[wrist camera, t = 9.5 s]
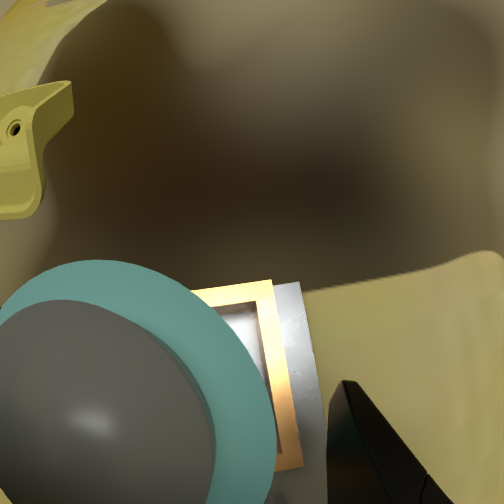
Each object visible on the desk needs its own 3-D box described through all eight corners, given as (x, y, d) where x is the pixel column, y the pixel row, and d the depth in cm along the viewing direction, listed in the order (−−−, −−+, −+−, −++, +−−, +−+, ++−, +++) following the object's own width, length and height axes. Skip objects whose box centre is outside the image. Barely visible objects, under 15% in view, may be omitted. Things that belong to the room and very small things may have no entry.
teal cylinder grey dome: (256, 430, 14) (309, 586, 2) (152, 441, 13) (-9, 552, 2) (239, 329, 16) (244, 212, 4) (137, 341, 15) (-55, 264, 3)
